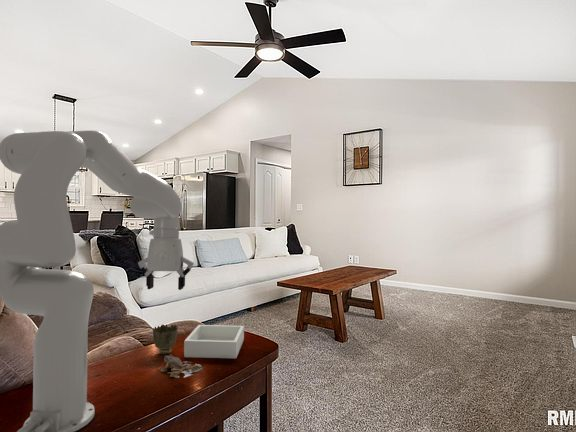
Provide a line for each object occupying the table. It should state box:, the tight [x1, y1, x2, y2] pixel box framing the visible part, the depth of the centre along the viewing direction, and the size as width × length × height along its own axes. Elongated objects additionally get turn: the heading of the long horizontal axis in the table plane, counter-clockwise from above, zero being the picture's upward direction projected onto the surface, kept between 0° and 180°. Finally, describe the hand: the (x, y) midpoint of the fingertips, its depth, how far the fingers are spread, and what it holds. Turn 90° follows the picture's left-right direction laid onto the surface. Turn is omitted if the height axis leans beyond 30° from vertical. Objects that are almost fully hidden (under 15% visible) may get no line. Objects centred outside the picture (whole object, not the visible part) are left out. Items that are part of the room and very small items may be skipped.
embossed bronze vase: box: [152, 324, 178, 355], centre depth 113 cm, size 8×7×8 cm
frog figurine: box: [160, 353, 203, 379], centre depth 101 cm, size 12×12×4 cm
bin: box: [183, 324, 245, 359], centre depth 117 cm, size 16×16×5 cm
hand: (165, 288), depth 113 cm, fingers open, 9 cm apart
